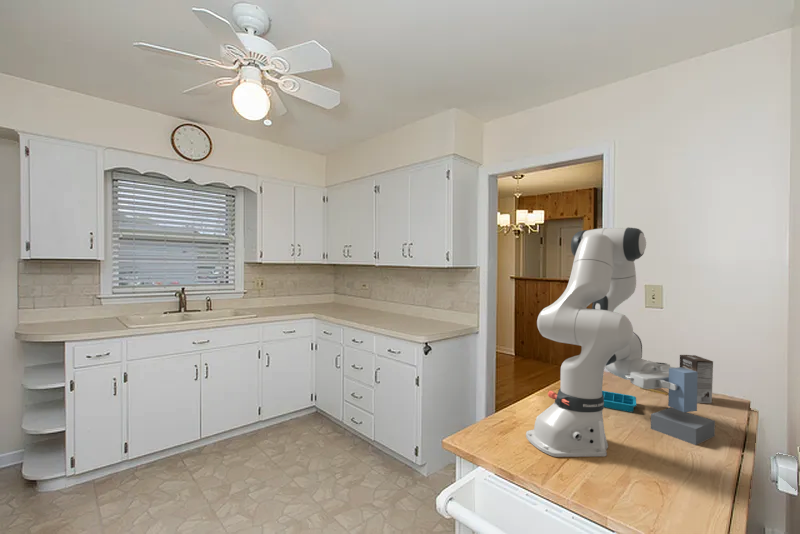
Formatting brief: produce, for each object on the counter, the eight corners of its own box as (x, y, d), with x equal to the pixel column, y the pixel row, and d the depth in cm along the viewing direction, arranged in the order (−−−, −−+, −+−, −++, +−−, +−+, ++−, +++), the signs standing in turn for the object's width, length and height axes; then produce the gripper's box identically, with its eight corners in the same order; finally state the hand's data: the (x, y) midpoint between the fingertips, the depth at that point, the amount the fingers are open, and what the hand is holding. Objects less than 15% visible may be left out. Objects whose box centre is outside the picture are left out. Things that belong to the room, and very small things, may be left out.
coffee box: (678, 394, 148) (678, 354, 148) (694, 394, 148) (695, 354, 147) (695, 403, 139) (696, 360, 139) (713, 403, 139) (713, 360, 138)
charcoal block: (695, 446, 106) (695, 429, 106) (650, 429, 117) (650, 414, 117) (714, 437, 112) (714, 420, 112) (670, 422, 122) (670, 407, 122)
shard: (668, 396, 147) (668, 392, 147) (647, 395, 148) (647, 390, 148) (655, 387, 157) (655, 383, 157) (635, 386, 159) (635, 382, 159)
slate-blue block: (683, 412, 111) (684, 372, 111) (668, 406, 116) (668, 368, 116) (696, 410, 113) (697, 371, 112) (681, 404, 117) (681, 367, 117)
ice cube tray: (576, 393, 149) (576, 386, 149) (635, 404, 138) (636, 396, 138) (572, 402, 139) (572, 394, 139) (636, 414, 128) (636, 406, 128)
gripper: (621, 366, 124) (658, 379, 111) (669, 362, 129) (711, 374, 116) (620, 384, 125) (657, 399, 111) (669, 380, 129) (710, 394, 116)
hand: (685, 386), depth 113 cm, fingers closed on slate-blue block, 5 cm apart
